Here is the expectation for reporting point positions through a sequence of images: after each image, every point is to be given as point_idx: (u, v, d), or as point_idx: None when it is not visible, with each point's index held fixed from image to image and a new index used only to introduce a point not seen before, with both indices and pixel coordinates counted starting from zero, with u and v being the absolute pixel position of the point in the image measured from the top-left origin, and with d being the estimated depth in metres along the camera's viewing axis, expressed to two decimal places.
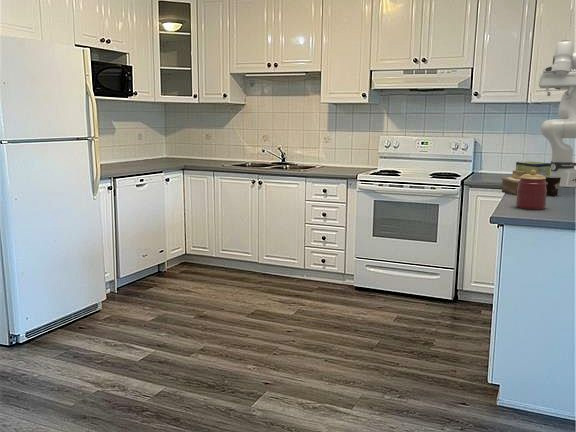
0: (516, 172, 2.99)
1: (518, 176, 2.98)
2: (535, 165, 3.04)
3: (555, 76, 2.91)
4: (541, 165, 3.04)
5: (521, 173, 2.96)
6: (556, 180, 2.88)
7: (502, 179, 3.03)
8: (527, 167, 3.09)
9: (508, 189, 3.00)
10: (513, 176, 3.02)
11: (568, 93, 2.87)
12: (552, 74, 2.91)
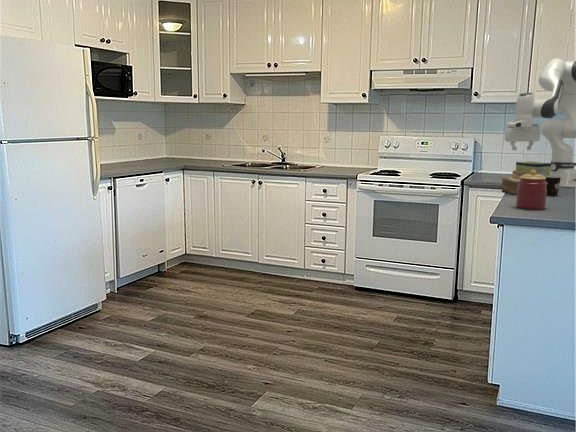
0: (516, 172, 2.99)
1: (518, 176, 2.98)
2: (535, 165, 3.04)
3: (521, 131, 2.93)
4: (541, 165, 3.04)
5: (521, 173, 2.96)
6: (556, 180, 2.88)
7: (502, 179, 3.03)
8: (527, 167, 3.09)
9: (508, 189, 3.00)
10: (513, 176, 3.02)
11: (530, 148, 2.97)
12: (520, 129, 2.91)
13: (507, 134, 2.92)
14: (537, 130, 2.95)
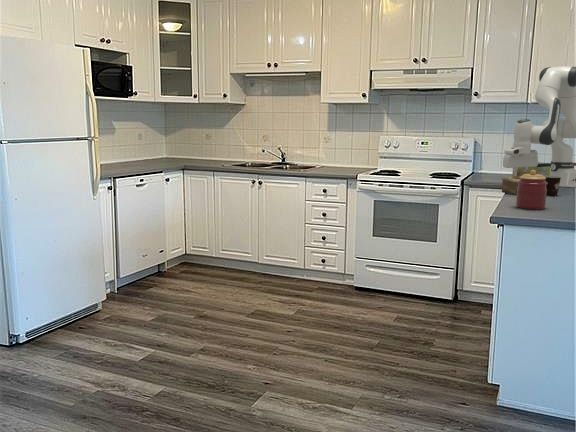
0: None
1: (518, 176, 2.98)
2: None
3: (519, 157, 2.95)
4: (541, 165, 3.04)
5: (521, 173, 2.96)
6: (556, 180, 2.88)
7: (502, 179, 3.03)
8: None
9: (508, 189, 3.00)
10: (513, 176, 3.02)
11: None
12: (518, 156, 2.94)
13: (505, 160, 2.95)
14: (535, 156, 2.98)
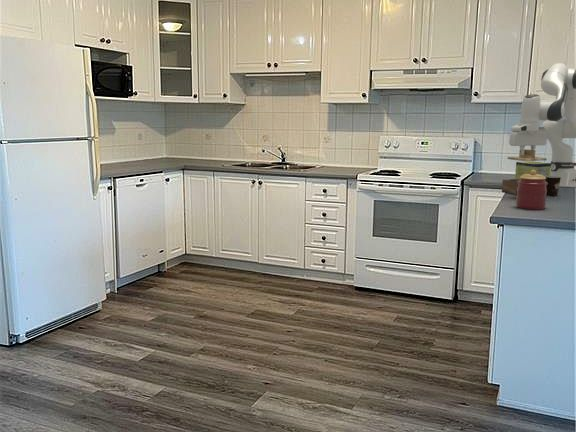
0: None
1: (525, 155, 2.80)
2: (535, 165, 3.04)
3: (526, 135, 2.77)
4: (541, 165, 3.04)
5: (529, 151, 2.78)
6: (556, 180, 2.88)
7: (508, 158, 2.85)
8: (527, 167, 3.09)
9: (508, 189, 3.00)
10: (520, 155, 2.84)
11: None
12: (525, 133, 2.76)
13: (512, 138, 2.77)
14: (544, 133, 2.80)
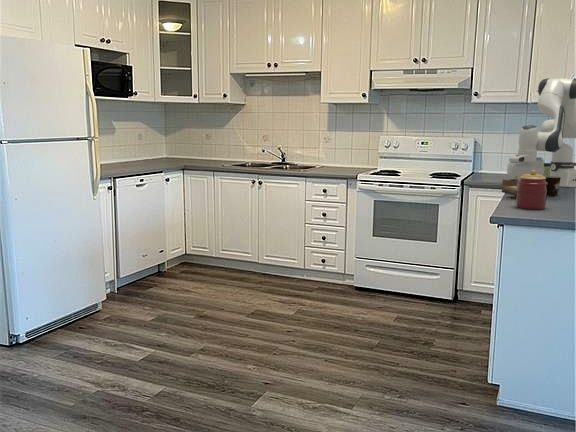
0: None
1: None
2: None
3: (524, 165, 2.80)
4: None
5: None
6: (556, 180, 2.88)
7: (506, 188, 2.88)
8: None
9: (508, 189, 3.00)
10: None
11: None
12: (523, 164, 2.79)
13: (510, 169, 2.80)
14: (541, 163, 2.83)
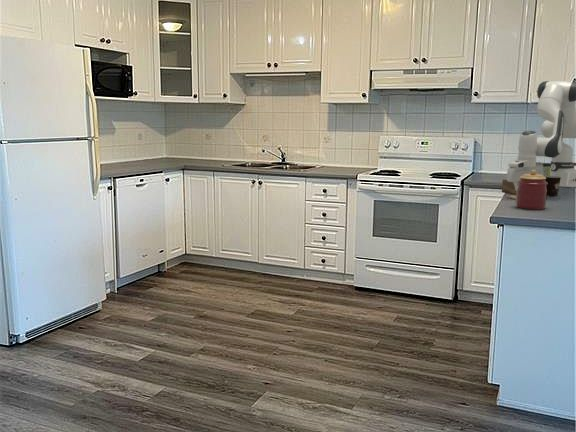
0: None
1: None
2: None
3: (524, 171, 2.81)
4: None
5: None
6: (556, 180, 2.88)
7: None
8: None
9: (508, 189, 3.00)
10: None
11: None
12: (522, 170, 2.80)
13: (509, 174, 2.80)
14: (541, 169, 2.83)
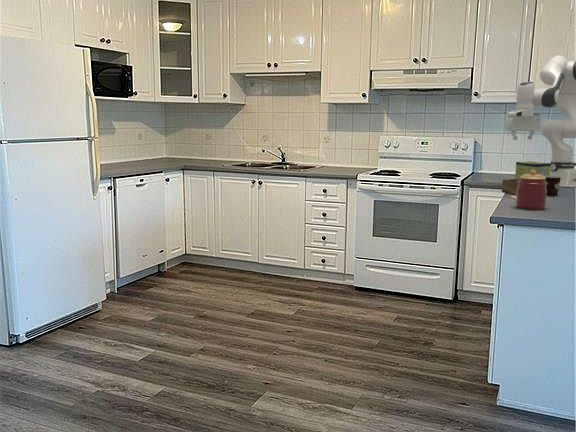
0: None
1: None
2: (535, 165, 3.04)
3: (522, 120, 2.92)
4: (541, 165, 3.04)
5: None
6: (556, 180, 2.88)
7: None
8: (527, 167, 3.09)
9: (508, 189, 3.00)
10: None
11: (531, 138, 2.96)
12: (520, 119, 2.90)
13: (508, 123, 2.91)
14: (538, 119, 2.94)
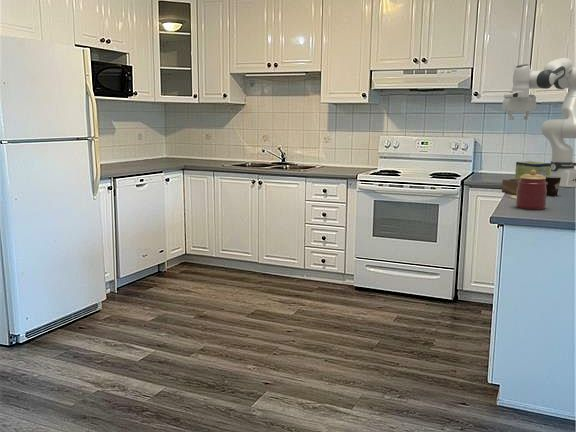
0: None
1: None
2: (535, 165, 3.04)
3: (518, 101, 3.05)
4: (541, 165, 3.04)
5: None
6: (556, 180, 2.88)
7: None
8: (527, 167, 3.09)
9: (508, 189, 3.00)
10: None
11: (526, 118, 3.10)
12: (517, 100, 3.04)
13: (504, 104, 3.04)
14: (533, 100, 3.08)
